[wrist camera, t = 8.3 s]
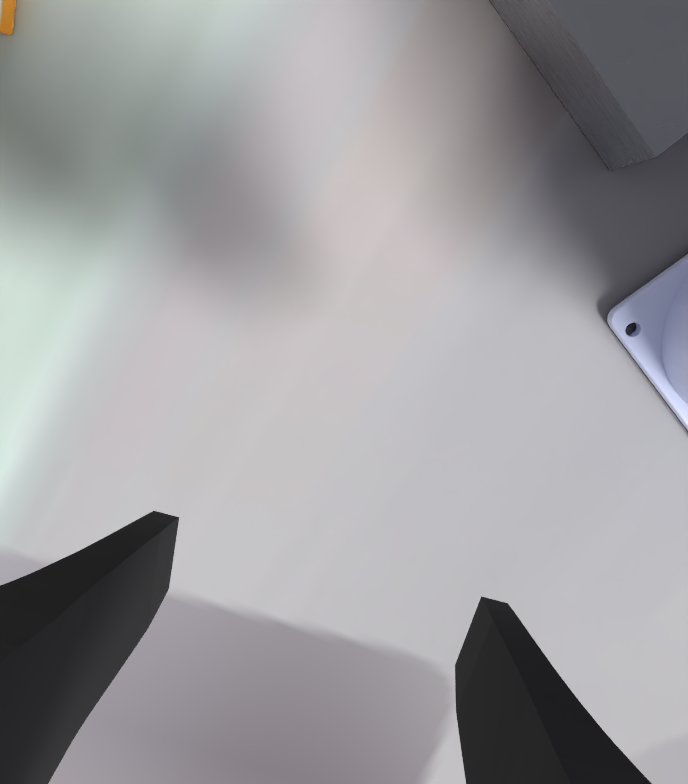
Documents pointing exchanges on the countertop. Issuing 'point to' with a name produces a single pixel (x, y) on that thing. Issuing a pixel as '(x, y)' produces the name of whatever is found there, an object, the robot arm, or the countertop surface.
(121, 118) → the countertop surface
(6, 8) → the supplement box
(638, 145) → the grey peg hole board
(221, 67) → the countertop surface
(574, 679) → the countertop surface
